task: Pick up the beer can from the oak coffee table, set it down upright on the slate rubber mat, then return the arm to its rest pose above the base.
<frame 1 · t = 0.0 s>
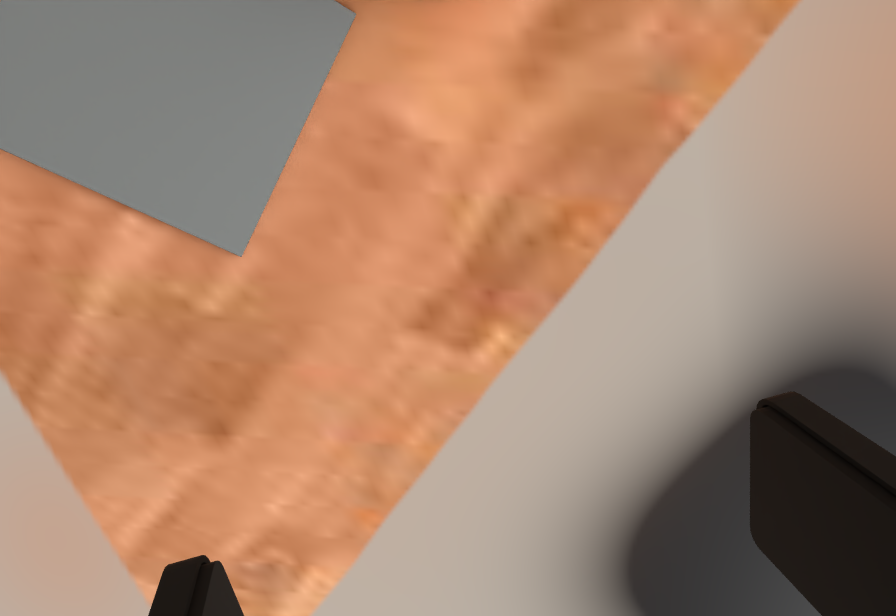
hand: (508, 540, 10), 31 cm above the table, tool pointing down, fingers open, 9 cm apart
slate mat: (164, 70, 34), on the table
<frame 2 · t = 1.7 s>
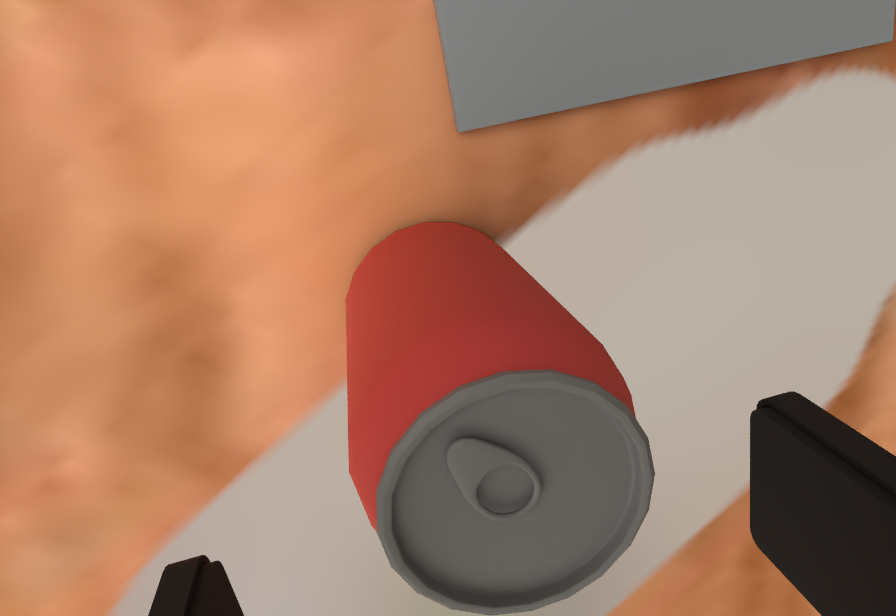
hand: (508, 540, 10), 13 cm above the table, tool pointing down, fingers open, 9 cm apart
beer can: (433, 302, 23), on the table
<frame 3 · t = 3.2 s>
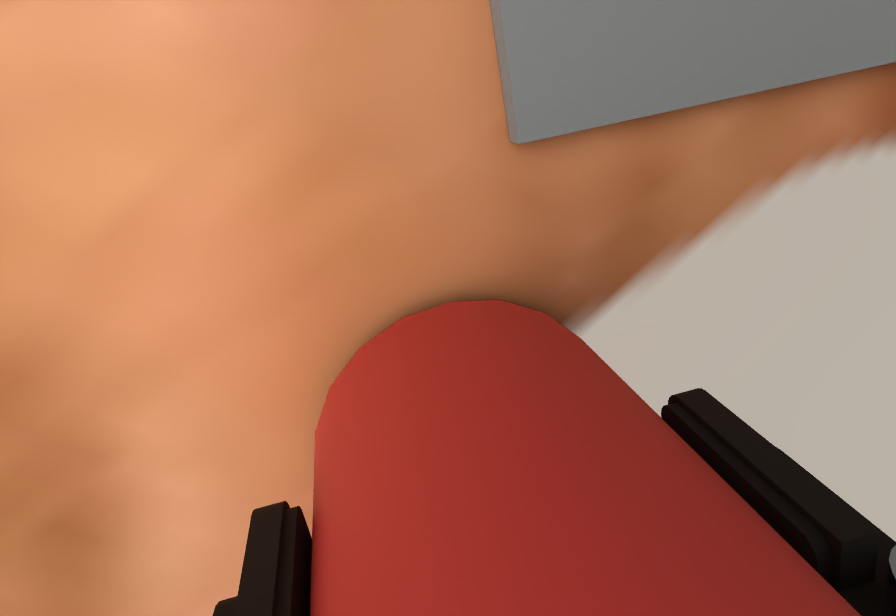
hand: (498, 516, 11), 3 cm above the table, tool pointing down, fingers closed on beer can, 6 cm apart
beer can: (460, 421, 14), on the table, touching gripper
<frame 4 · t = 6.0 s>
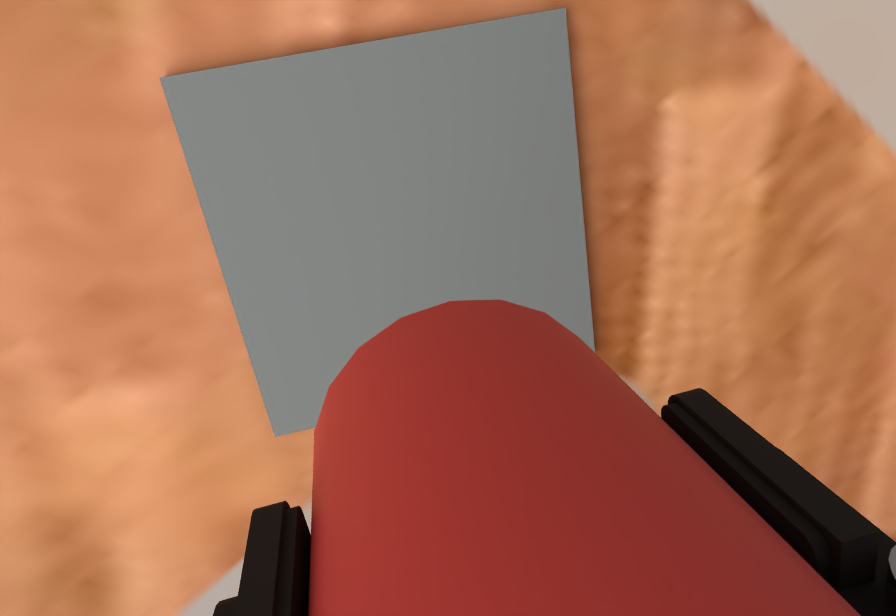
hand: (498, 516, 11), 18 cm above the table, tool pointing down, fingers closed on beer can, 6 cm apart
slate mat: (407, 235, 27), on the table
beer can: (460, 421, 14), point 14 cm above the table, touching gripper
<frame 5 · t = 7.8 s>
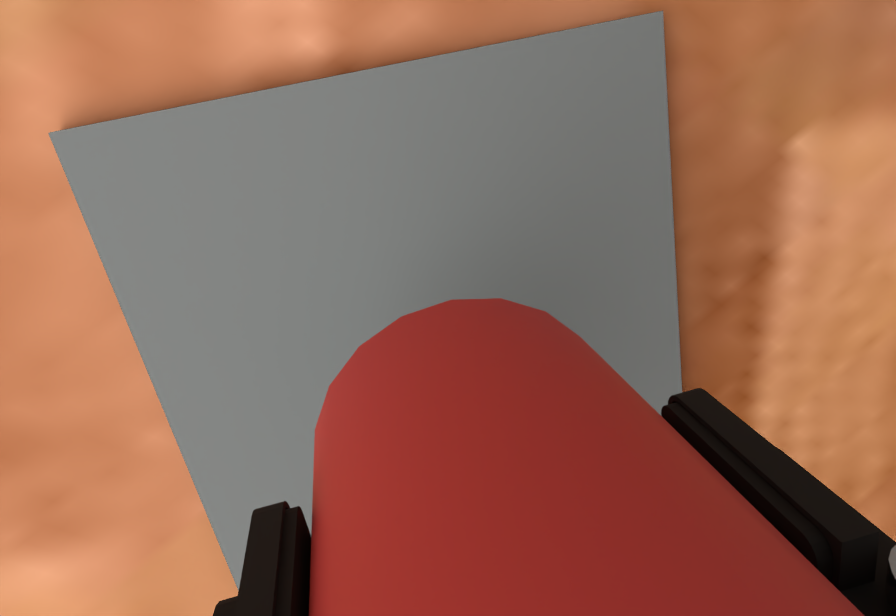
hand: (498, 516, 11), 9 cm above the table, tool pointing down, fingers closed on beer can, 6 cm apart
slate mat: (429, 339, 19), on the table
beer can: (460, 420, 14), point 5 cm above the table, touching gripper
when the fingers open (5 cm above the table, at t = 9.1 s): beer can drops 1 cm, resting on slate mat.
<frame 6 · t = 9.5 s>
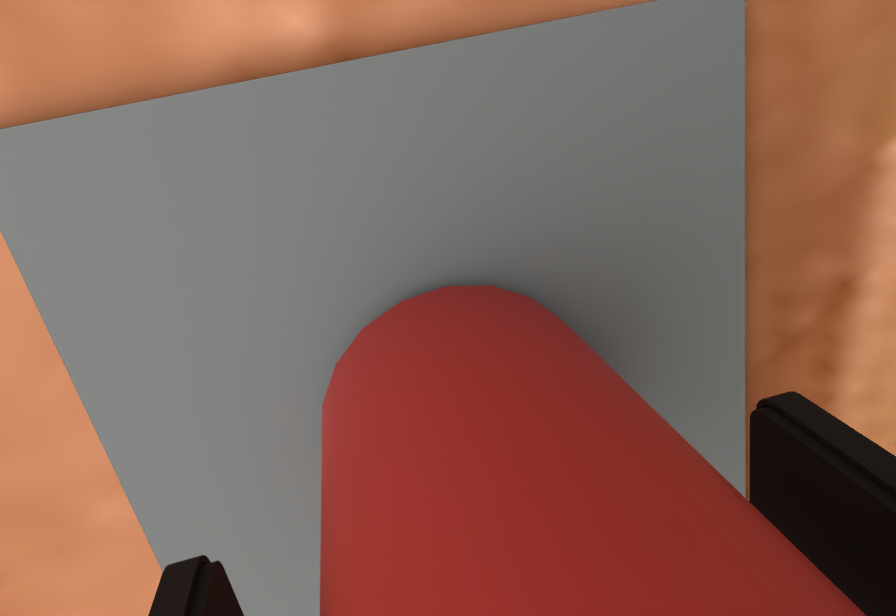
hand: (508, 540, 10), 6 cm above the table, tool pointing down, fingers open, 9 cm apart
slate mat: (446, 387, 16), on the table
beer can: (454, 399, 15), resting on slate mat
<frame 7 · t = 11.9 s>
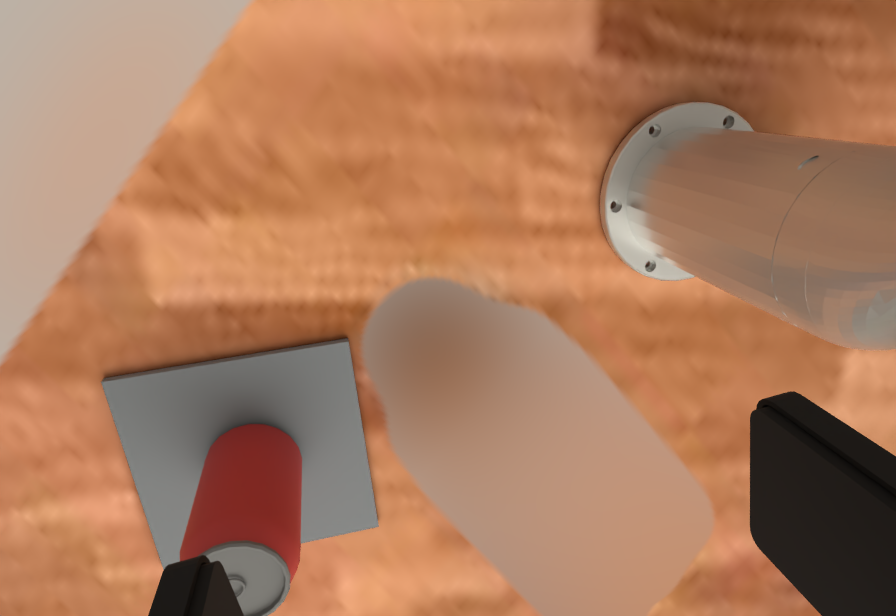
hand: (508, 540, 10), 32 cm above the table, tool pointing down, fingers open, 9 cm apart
slate mat: (254, 456, 44), on the table
beer can: (255, 458, 44), resting on slate mat
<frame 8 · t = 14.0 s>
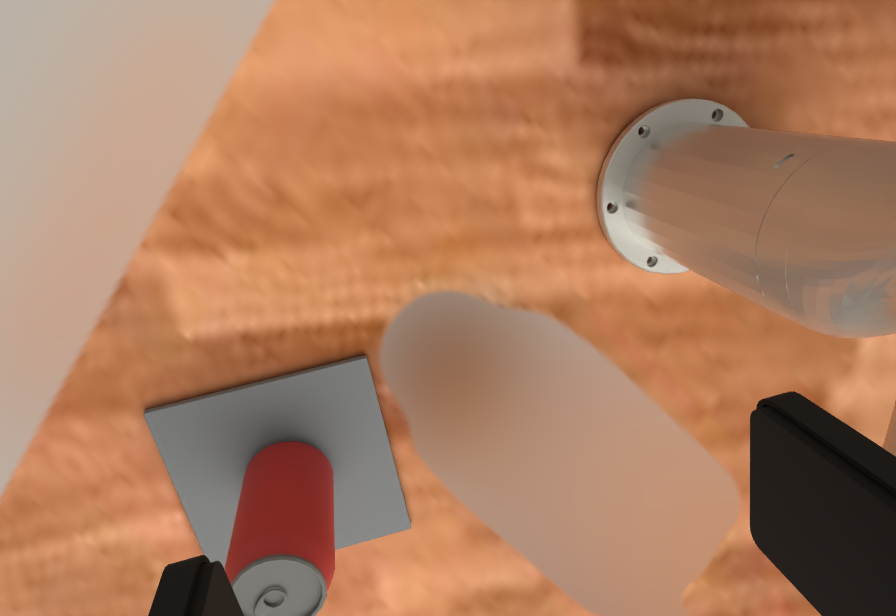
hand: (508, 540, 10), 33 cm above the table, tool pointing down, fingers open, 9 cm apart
slate mat: (288, 471, 47), on the table
beer can: (290, 472, 47), resting on slate mat
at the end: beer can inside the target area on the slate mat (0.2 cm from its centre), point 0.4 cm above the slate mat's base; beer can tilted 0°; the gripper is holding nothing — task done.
